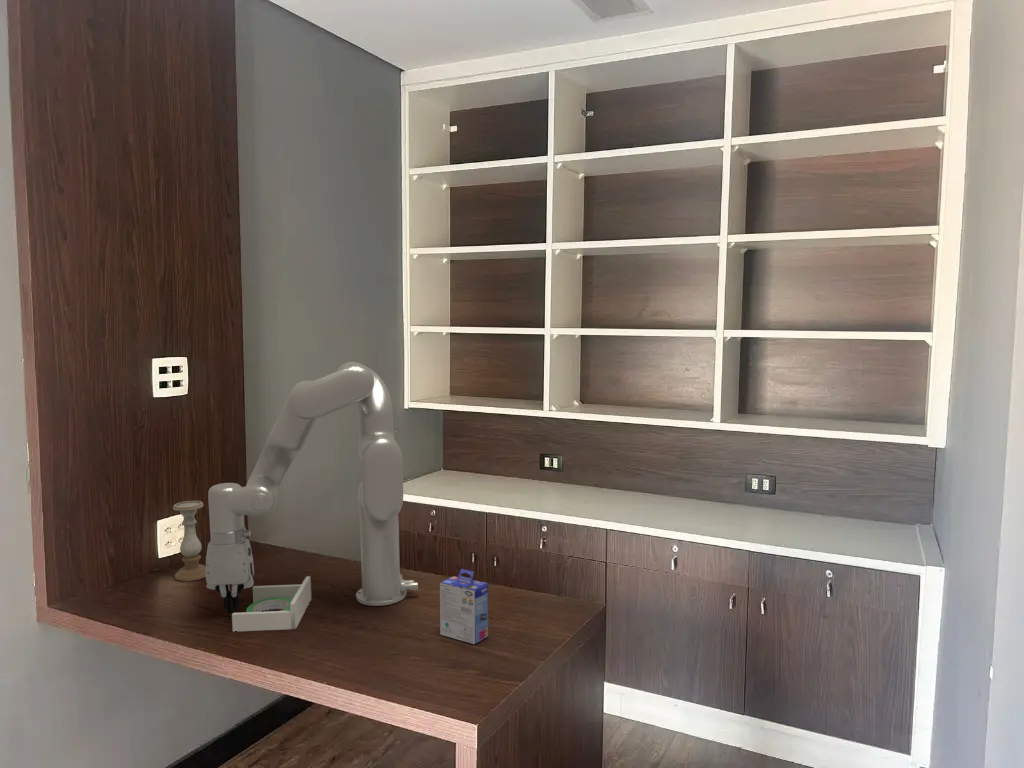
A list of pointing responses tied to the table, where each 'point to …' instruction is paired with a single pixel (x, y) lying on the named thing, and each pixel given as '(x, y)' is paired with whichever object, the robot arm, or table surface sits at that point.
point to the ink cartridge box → (464, 608)
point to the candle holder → (190, 543)
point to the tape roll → (270, 604)
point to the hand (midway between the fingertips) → (231, 611)
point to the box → (275, 618)
